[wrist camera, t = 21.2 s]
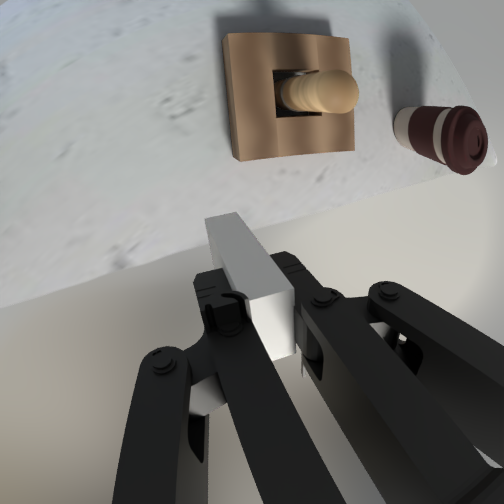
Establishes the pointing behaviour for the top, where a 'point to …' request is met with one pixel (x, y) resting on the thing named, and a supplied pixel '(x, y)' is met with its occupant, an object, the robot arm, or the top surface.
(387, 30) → the top surface
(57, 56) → the top surface
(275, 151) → the walnut socket block
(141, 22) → the top surface
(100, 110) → the top surface
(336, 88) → the oak peg
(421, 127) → the coffee cup
